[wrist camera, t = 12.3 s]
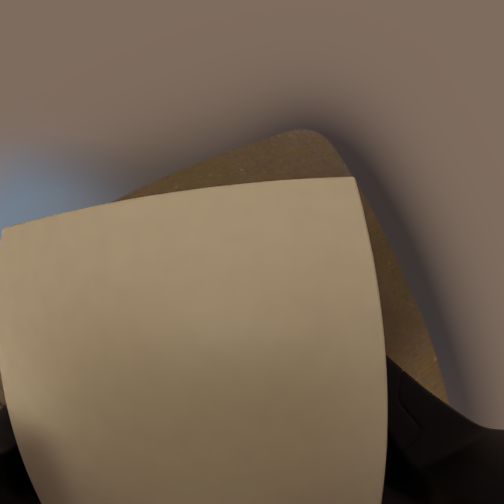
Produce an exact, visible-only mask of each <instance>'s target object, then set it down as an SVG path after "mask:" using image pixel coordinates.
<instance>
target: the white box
mask: <svg viewBox="0 0 504 504" xmlns="http://www.w3.org/2000/svg"><path fill="white" fill-rule="evenodd" d="M0 370H1V377H2V383H3V389H4V394H5V399H6V404H7V409H8V413H9V417H10V421H11V425H12V428H13V432H14V435H15V439H16V442H17V445H18V448H19V451H20V454H21V457H22V460H23V462H24V465H25V468H26V470H27V473H28V475H29V477H30V480H31V482H32V484H33V487H34V489H35V491H36V493H37V495H38V497H39V500H40V502H41V504H381V502H382V494H383V486H384V477H385V465H386V451H387V425H388V396H387V369H386V353H385V340H384V330H383V320H382V312H381V304H380V296H379V290H378V283H377V277H376V271H375V265H374V259H373V254H372V248H371V243H370V238H369V234H368V229H367V224H366V220H365V216H364V211H363V207H362V203H361V199H360V195H359V191H358V187H357V184H356V180H355V178H354V177H330V178H310V179H294V180H280V181H267V182H256V183H245V184H235V185H226V186H217V187H209V188H201V189H193V190H186V191H179V192H172V193H165V194H159V195H152V196H146V197H140V198H134V199H129V200H123V201H118V202H112V203H107V204H102V205H97V206H92V207H87V208H83V209H79V210H74V211H70V212H65V213H60V214H56V215H52V216H48V217H44V218H40V219H36V220H33V221H29V222H25V223H21V224H17V225H14V226H10V227H7V228H4V229H3V230H2V236H1V243H0Z"/></svg>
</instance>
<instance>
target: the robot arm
mask: <svg viewBox="0 0 504 504" xmlns="http://www.w3.org/2000/svg"><path fill="white" fill-rule="evenodd" d="M386 369H387V396H388V425H387V451H386V465H385V477H384V486H383V494H382V502H381V504H504V430H499V429H490V428H486V427H483V426H480V425H478V424H476V423H474V422H472V421H471V420H469V419H468V418H466V417H465V416H463V415H462V414H460V413H459V412H457V411H456V410H455V409H453V408H452V407H450V406H449V405H447V404H446V403H444V402H443V401H441V400H440V399H439V398H437V397H436V396H434V395H433V394H432V393H430V392H429V391H428V390H426V389H425V388H424V387H423V386H421V385H420V384H419V383H418V382H417V381H415V380H414V379H413V378H412V377H411V376H409V375H408V374H407V373H406V372H405V371H403V372H402V369H401V368H400V367H399V366H398V365H397V364H396V363H394V362H393V361H392V360H391V359H390V358H389V357H387V356H386ZM0 504H41V502H40V500H39V497H38V495H37V493H36V491H35V489H34V487H33V484H32V482H31V480H30V477H29V475H28V473H27V470H26V468H25V465H24V462H23V460H22V457H21V454H20V451H19V448H18V445H17V442H16V439H15V435H14V432H13V428H12V425H11V421H10V417H9V413H8V409H7V404H6V405H4V406H3V407H2V408H1V409H0Z"/></svg>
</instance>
